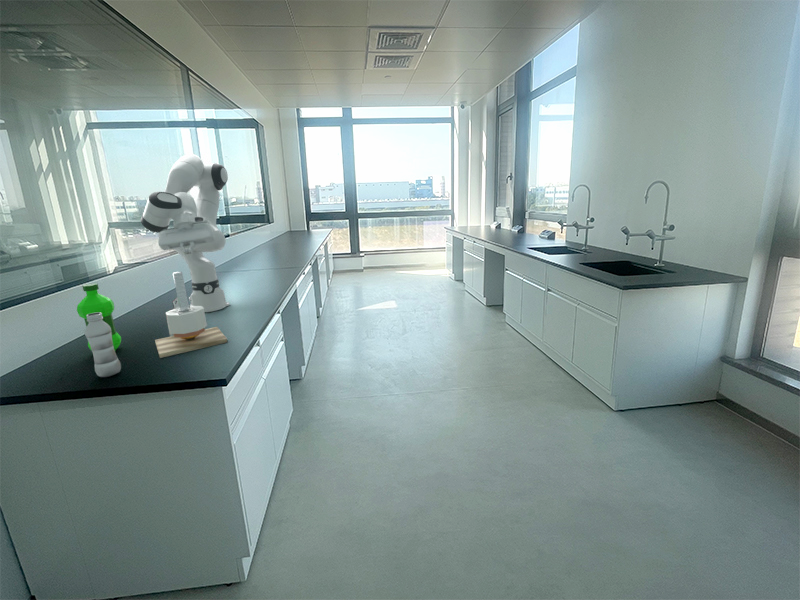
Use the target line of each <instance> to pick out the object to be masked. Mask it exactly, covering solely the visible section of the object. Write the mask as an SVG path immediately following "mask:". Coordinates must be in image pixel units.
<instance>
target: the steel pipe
mask: <svg viewBox="0 0 800 600" xmlns="http://www.w3.org/2000/svg"><path fill="white" fill-rule="evenodd" d="M172 276H173V282H174V285H175V291H176V298H178V302H179V307H180V312H186V311H189V306H190V305H189V299H188V297H187V296H188V295H187V290H186V286H185V281H184V275H183V272H182V271H175V272H172ZM198 335H199V334H198ZM198 335H194V336H190V337H180V338H181V339H186V340H187V341H190V340H194V339H195V337H197V336H198Z"/></svg>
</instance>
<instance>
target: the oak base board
mask: <svg viewBox="0 0 800 600" xmlns="http://www.w3.org/2000/svg"><path fill="white" fill-rule="evenodd" d="M204 329H205V331H204V332H202V333H200V334H199V335H198V336H197V337H195V339H194V340H190V341H187V340H186V339H181V338H180V337H175V336H171V337H170V336H167V337H162V338H158V339H155V340H154V341H155V346H156V349H157V352H158V356H159V359H161V358H162V359H163V358H166V357H170V356H171V357H172V356H174V355H178V354H183V353H187V352H191V351H192V352H193V351H196V350H200V349H205V348H208V347H213V346H218V345H222V344H226V343H228V338H227V336H225V335H224V333H223V332H222V331H221V330H220V328H219V327H218V326H215V327H210V328H204Z"/></svg>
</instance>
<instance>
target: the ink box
mask: <svg viewBox="0 0 800 600" xmlns="http://www.w3.org/2000/svg"><path fill="white" fill-rule="evenodd" d="M172 307H173V309H175V308H180V307H179V302H178V297H176V298H175V299H174V300H173V301H172ZM165 318H166V319H167V317H166V316H165ZM166 323H167V328H168V333H169V337H171V336H174V334H171V333H170V330H169V326H168V321H167V320H166Z"/></svg>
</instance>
